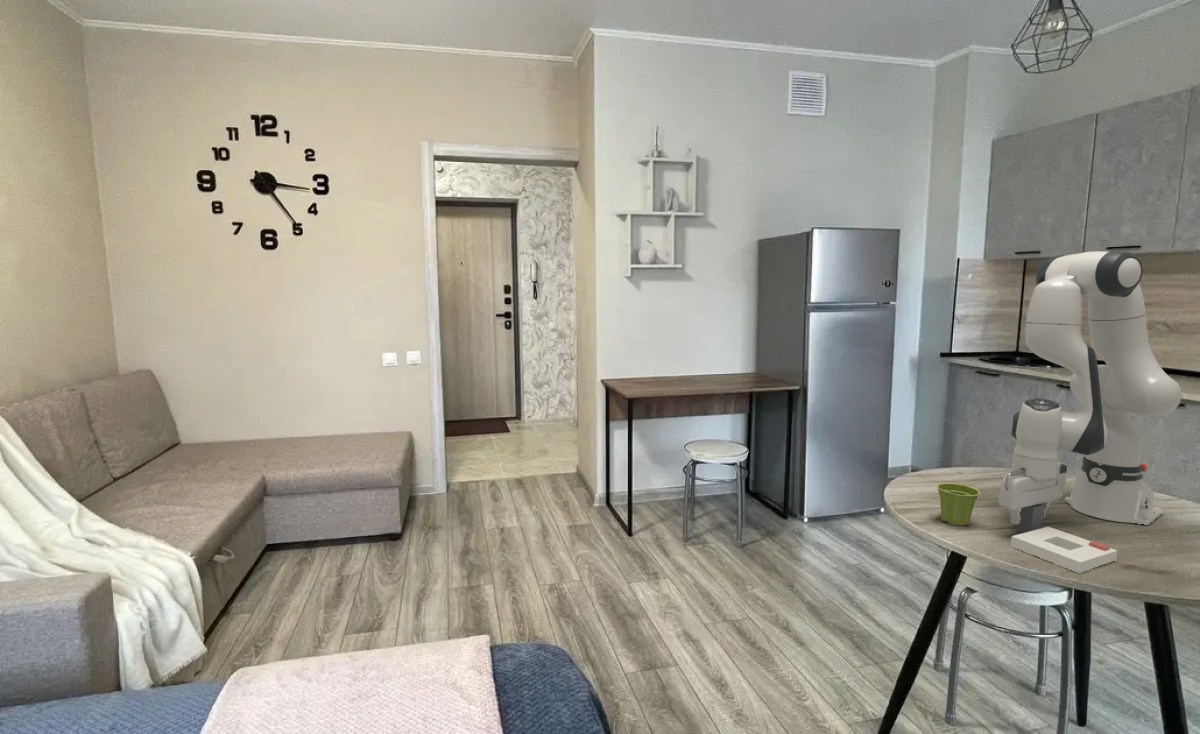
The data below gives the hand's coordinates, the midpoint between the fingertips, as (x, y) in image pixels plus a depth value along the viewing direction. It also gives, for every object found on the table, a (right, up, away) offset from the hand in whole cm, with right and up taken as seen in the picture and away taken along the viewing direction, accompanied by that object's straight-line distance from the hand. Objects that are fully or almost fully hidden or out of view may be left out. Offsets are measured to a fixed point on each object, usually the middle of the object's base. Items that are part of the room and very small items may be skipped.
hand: (1027, 520), depth 147 cm
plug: (0, -3, 0) cm, 3 cm away
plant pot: (-15, -2, +6) cm, 16 cm away
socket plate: (-1, -4, -12) cm, 13 cm away
